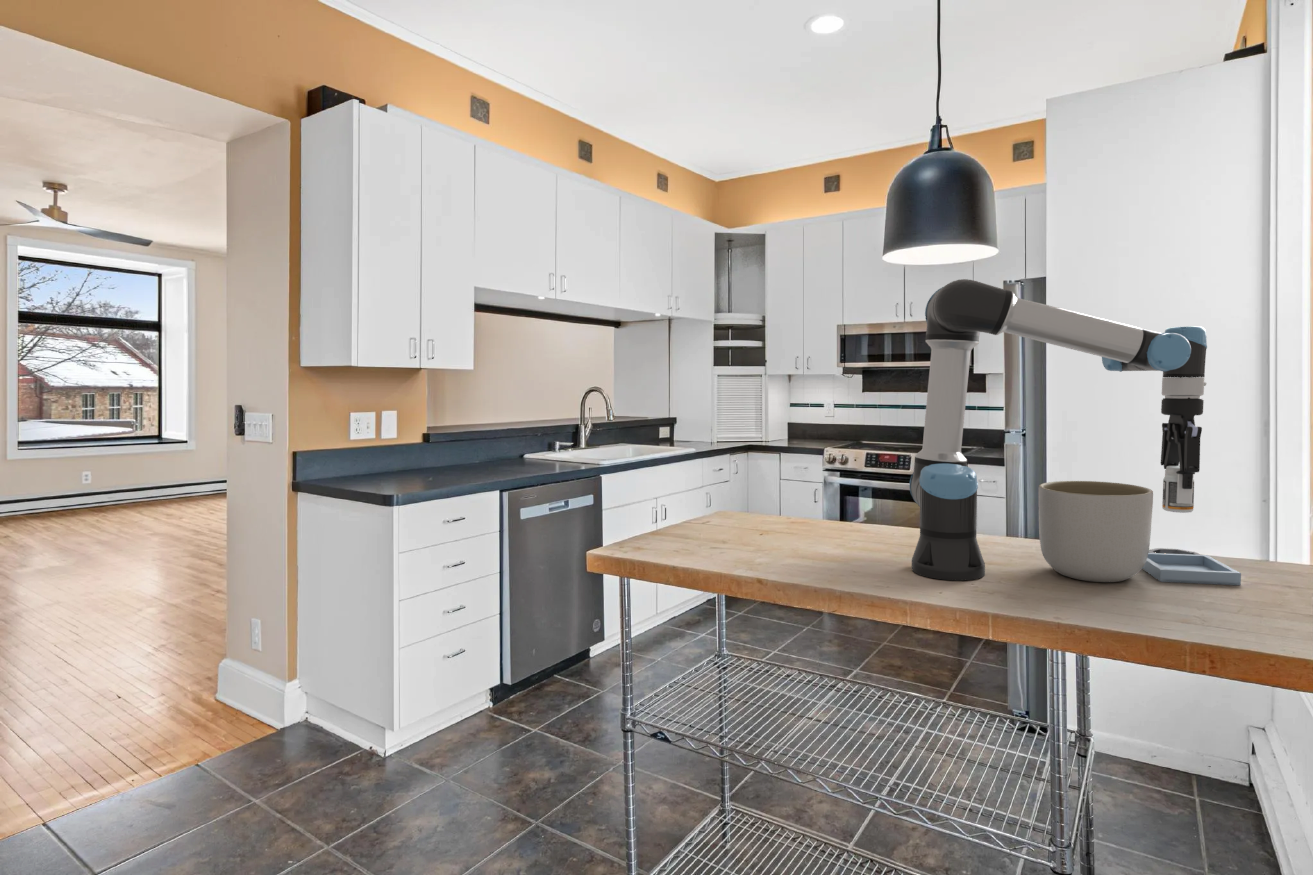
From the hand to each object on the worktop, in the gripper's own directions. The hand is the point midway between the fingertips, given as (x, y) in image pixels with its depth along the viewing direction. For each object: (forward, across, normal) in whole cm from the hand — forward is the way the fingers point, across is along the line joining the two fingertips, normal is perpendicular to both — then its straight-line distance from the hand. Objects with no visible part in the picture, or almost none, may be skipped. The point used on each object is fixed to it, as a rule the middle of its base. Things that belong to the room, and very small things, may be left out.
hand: (1177, 500), depth 162 cm
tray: (+14, -9, +2) cm, 17 cm away
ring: (+14, +4, -2) cm, 15 cm away
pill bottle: (+3, 0, 0) cm, 3 cm away
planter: (+15, -13, +21) cm, 29 cm away
